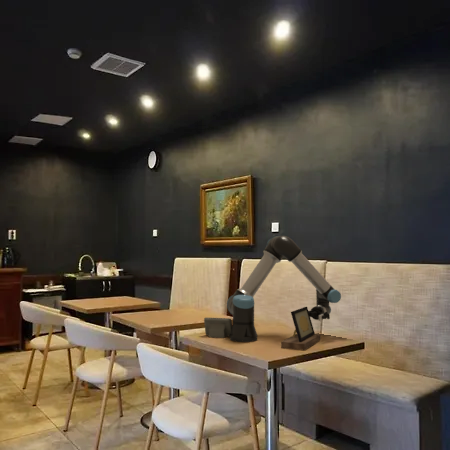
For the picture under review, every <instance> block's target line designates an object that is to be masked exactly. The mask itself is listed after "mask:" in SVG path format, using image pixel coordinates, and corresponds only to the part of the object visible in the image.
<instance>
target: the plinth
mask: <svg viewBox="0 0 450 450" xmlns="http://www.w3.org/2000/svg"><path fill="white" fill-rule="evenodd" d="M320 341H321V334H319V333H315V334H314V335H312V336H310V337H308V338H307V339H305V340H303V341H301V342H299V340H298V336H297V333H296V334H295V336H294V337H293V335H291V336H290V337H288V338H286V339H284V340H282V341H281V342H280V343H281V344H280V347H281V349H289V350H290V349H291V350H298V351H306V350H307V349H309V348H311V347H312V346H314V345H315V344H316V343H319V342H320Z"/></svg>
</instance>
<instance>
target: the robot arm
mask: <svg viewBox="0 0 450 450" xmlns="http://www.w3.org/2000/svg"><path fill="white" fill-rule="evenodd" d="M262 253H263V256H262V257H261V259H260V260H259V262H257V264H256V266H255V267H254V269H253V271H251V274H249V276H248V277H247V279H246V281H245V282H244V284H243V285H242V287H241V288H238V289H236V290H235V292H234V293H233V295H231V296H229V298H228V299H227V303H226V308H227V310H228V312H229V313H230V315H232V329H231V333H230V336H229V340H230V341H232V342H238V343H249V342H251V343H252V342H256V341H257V340H258V333H257V330H256V327H255V299H254V297H255V295H256V294H257V292H258V291H259V289H260V288H261V286H262V285H263V283H264V282H265V281H266V278H268V276H269V275H270V273H271V272H272V270H273V268H274V267H275V266H276V264H278V263H281V261H282V259H283V258H284V259H286V260H287V262H289V263H292V264H293V265H294V267H296V268H297V270H298V271H299V272H301V274H302V275H303V276H304V277H305V279H307V280H308V282H309V283H310V284H311V285H312V286H313V287H314V288H315V293H316V295H315V297H316V298H315V299H316V302H315V303H316V304H315V305H316V306H314V307H312V308H311V309H310V310H308V312H309V315H310V318H312V319H313V320H316V321H319V322H321V321H323V320H330V318H331V317H330V314H331V312H332V307H331V306H330V303H331V304H337V303H339V302H340V301H341V300H342V299H341V298H342V295H341V292H340V291H339V290H338V289H335V288H334V287H333V286H332V285H331V284H330V283H329V281H327V279H325V277H324V276H323V275H322V274H321V272H319V270H318V269H316V267H315V266H314V265H313V264H312V263H311V262H310V260H308V258H307V257H306V256H305V255H304V254H303V251H302V249H301V248H300V247H299V245H297V243H296V242H295V241H294V240H293V239H292V238H290V237H289V236H286V235H277V236H272V237H271V238H270V239H268V240H267V243H266V247H265V248H264V250H263V252H262Z"/></svg>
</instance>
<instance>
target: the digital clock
mask: <svg viewBox="0 0 450 450" xmlns="http://www.w3.org/2000/svg"><path fill="white" fill-rule="evenodd" d="M203 324H204V330H205V331H204V332H205V333H204V334H205V335H206V336H208V338H211V339H212V338H215V339H216V338H217V339H225V338H226V337H230V333H231V329H232V326H233V319H232V318H229V317H226V318H225V317H204V319H203Z"/></svg>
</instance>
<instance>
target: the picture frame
mask: <svg viewBox="0 0 450 450" xmlns="http://www.w3.org/2000/svg"><path fill="white" fill-rule="evenodd" d="M308 309H309V308H308V306H304V307H300V308H299V309H296V310H293V311H290V315H291V318H292V321H293V324H294V329H295V330H294V332H293V335H292V336H293V337H294V336H295V334H297V336H298V340H299V342H301V341H303V340H305V339H307V338H308V337H310V336H312V335H314V334H316V333H315V329H314V327H313V323H312V322H313V321H312V320H311V317H310V315H309V312H308V311H309V310H308Z"/></svg>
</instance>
